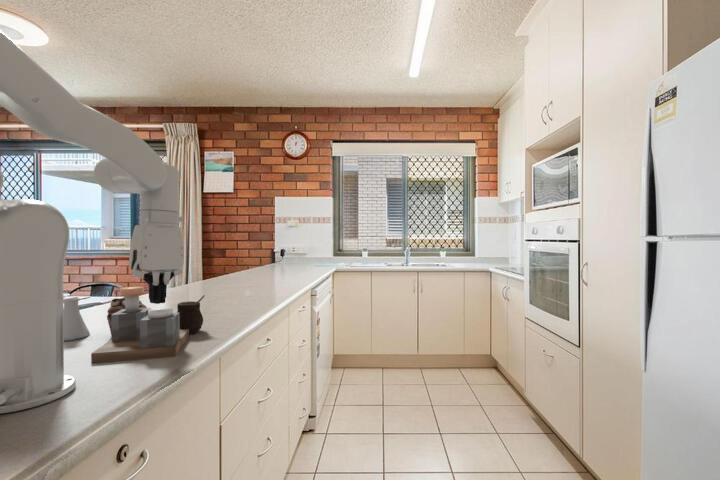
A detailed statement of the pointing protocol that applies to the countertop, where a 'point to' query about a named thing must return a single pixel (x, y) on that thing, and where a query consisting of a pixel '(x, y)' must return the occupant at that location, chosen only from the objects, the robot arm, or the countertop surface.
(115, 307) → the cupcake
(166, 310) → the white round part
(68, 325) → the flask
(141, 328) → the board
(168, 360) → the countertop surface
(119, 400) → the countertop surface
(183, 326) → the mate gourd
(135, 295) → the orange rounded piece
